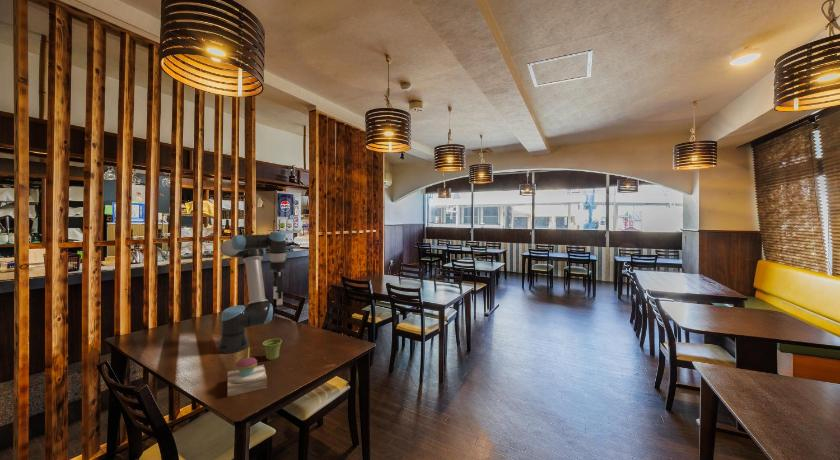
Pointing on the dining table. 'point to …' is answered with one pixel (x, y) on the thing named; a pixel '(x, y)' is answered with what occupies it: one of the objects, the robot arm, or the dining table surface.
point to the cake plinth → (246, 381)
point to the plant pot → (272, 348)
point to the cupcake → (246, 365)
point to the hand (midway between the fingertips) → (277, 301)
